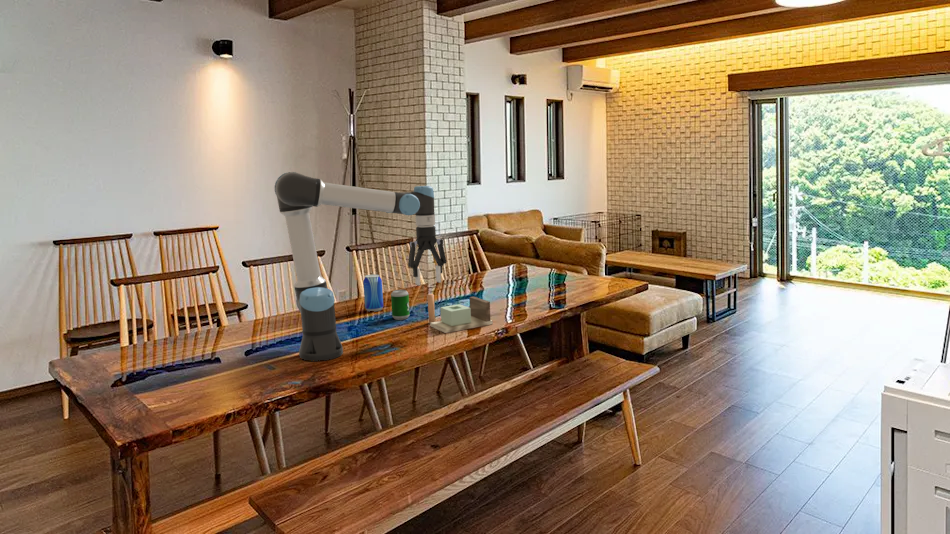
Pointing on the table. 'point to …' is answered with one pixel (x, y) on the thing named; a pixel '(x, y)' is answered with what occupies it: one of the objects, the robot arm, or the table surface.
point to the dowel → (431, 308)
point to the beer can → (373, 293)
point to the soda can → (400, 304)
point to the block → (455, 315)
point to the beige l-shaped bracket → (478, 317)
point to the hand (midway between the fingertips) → (428, 283)
